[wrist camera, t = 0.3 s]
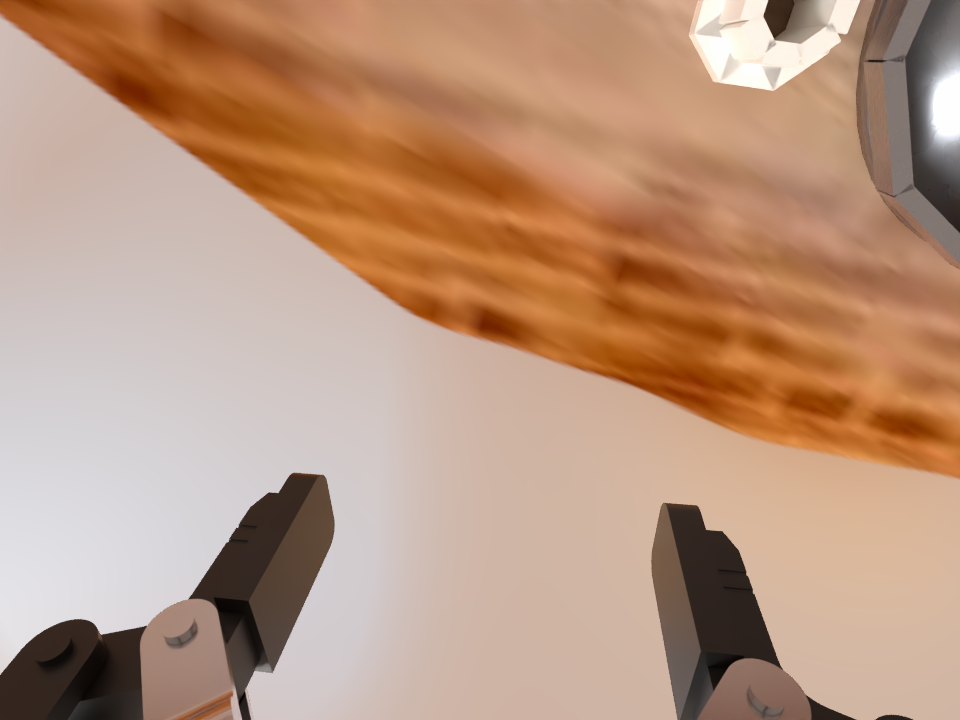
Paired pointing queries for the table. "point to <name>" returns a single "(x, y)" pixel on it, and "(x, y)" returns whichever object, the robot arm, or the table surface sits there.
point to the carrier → (914, 115)
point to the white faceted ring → (765, 39)
